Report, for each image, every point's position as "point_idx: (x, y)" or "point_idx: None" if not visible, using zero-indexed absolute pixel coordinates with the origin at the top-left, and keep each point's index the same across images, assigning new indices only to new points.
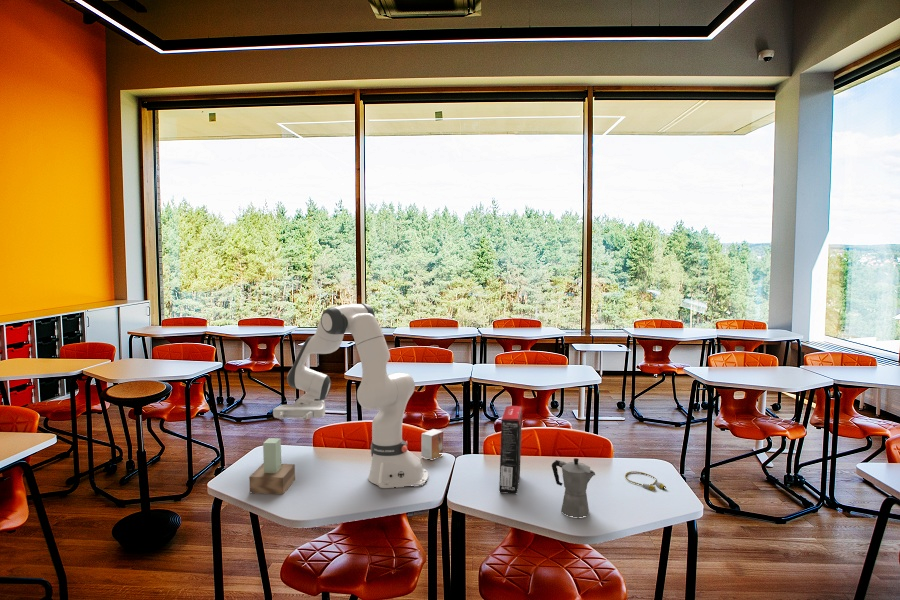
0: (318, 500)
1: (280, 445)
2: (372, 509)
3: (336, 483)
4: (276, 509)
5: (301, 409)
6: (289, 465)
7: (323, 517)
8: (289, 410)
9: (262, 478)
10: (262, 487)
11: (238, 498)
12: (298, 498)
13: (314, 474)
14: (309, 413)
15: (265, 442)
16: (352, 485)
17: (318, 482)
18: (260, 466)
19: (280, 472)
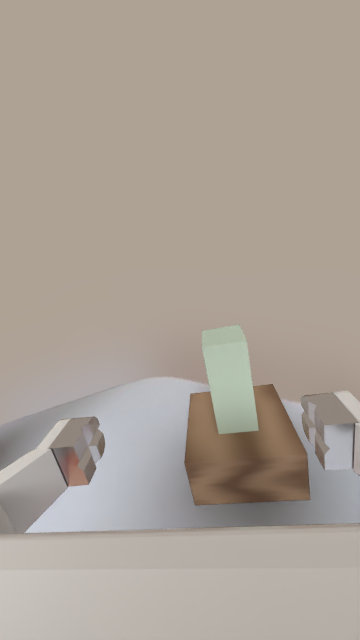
0: (124, 418)
1: (206, 367)
2: (45, 410)
3: (71, 494)
4: (190, 387)
5: (86, 537)
6: (199, 452)
7: (119, 385)
8: (346, 525)
9: None
10: None
11: (282, 400)
12: (161, 418)
13: None
14: (17, 462)
15: (234, 327)
16: None
17: (120, 495)
18: (294, 432)
19: (207, 410)
